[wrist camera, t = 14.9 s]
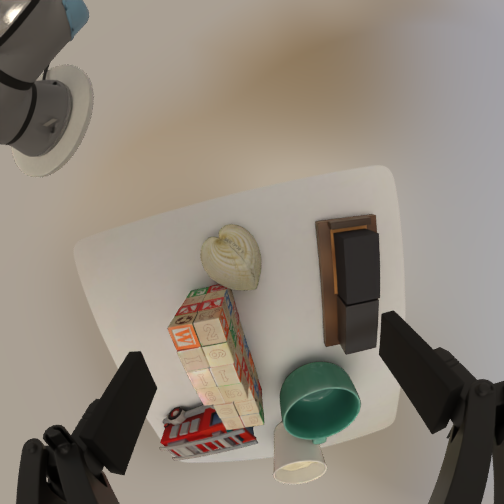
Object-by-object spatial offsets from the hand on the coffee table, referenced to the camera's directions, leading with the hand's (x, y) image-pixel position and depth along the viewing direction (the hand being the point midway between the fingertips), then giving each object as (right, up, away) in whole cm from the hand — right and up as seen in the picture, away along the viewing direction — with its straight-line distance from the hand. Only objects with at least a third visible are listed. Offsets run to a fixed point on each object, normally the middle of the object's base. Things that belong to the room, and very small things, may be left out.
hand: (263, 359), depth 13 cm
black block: (+14, +4, +24) cm, 28 cm away
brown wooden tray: (+14, +1, +27) cm, 30 cm away
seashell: (-3, +5, +26) cm, 27 cm away
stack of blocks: (-4, -9, +29) cm, 31 cm away
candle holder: (+8, -31, +34) cm, 47 cm away
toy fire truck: (-9, -26, +33) cm, 43 cm away
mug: (+10, -19, +32) cm, 38 cm away
